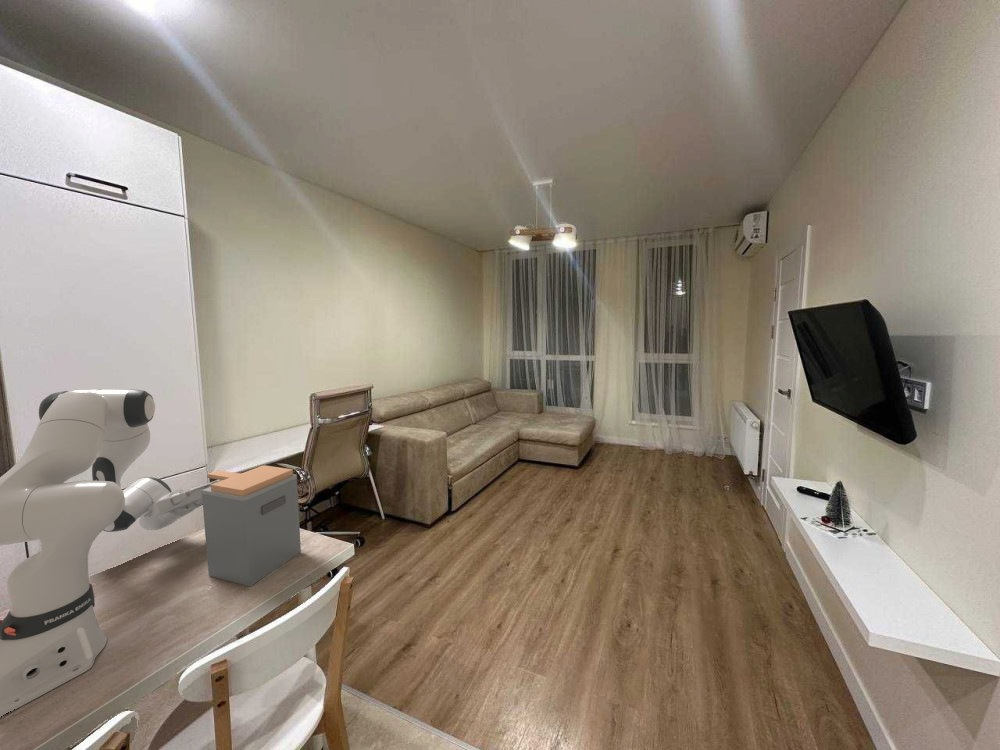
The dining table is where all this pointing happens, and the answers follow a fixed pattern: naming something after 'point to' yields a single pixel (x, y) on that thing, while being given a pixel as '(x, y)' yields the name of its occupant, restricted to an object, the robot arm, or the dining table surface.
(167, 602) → the dining table surface
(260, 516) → the crate
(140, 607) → the dining table surface
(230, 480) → the lid
